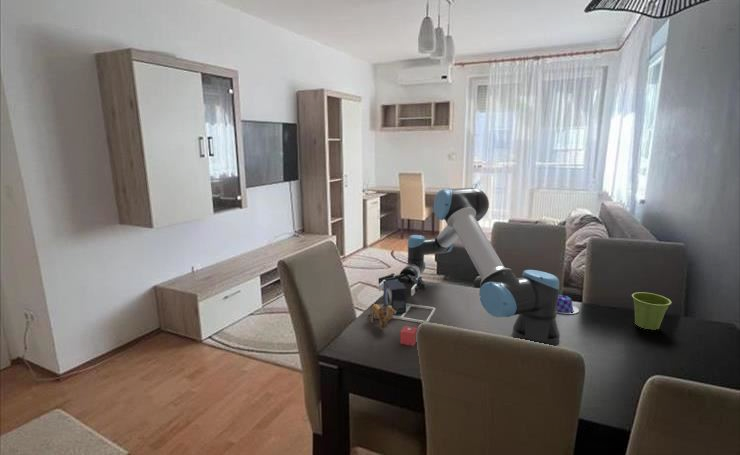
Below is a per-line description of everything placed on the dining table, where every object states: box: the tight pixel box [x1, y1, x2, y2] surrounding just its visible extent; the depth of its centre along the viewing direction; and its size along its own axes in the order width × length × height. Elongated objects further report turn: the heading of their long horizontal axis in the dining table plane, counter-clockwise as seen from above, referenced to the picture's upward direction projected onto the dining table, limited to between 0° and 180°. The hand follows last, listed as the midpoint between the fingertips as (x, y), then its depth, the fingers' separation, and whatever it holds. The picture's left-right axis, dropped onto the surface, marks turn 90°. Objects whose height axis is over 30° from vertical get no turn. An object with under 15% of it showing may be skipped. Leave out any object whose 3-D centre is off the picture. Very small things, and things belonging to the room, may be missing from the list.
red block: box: [400, 325, 418, 347], centre depth 138 cm, size 4×4×5 cm
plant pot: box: [631, 291, 672, 330], centre depth 148 cm, size 12×12×11 cm
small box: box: [383, 279, 407, 314], centre depth 162 cm, size 11×6×10 cm, turn 17°
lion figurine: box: [367, 303, 396, 330], centre depth 151 cm, size 15×5×9 cm, turn 38°
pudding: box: [557, 294, 580, 315], centre depth 165 cm, size 12×12×5 cm
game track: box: [381, 302, 436, 324], centre depth 162 cm, size 21×14×1 cm
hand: (395, 290), depth 165 cm, fingers open, 13 cm apart
